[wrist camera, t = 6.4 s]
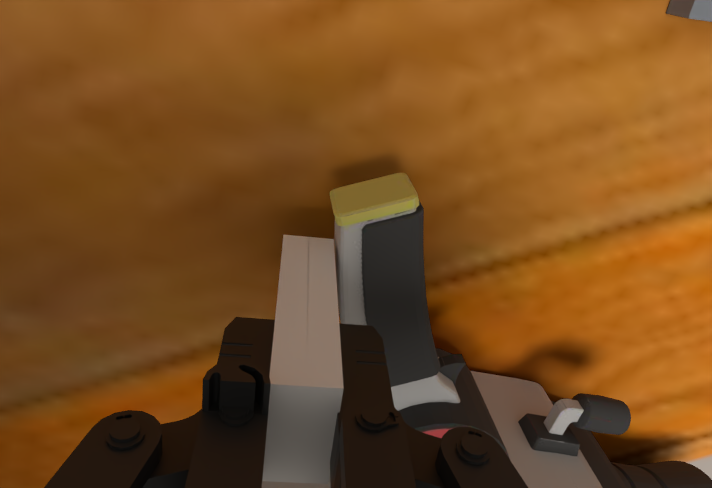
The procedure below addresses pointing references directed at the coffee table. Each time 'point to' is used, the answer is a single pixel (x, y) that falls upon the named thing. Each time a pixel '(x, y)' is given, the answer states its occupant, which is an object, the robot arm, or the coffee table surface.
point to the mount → (691, 9)
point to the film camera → (448, 371)
